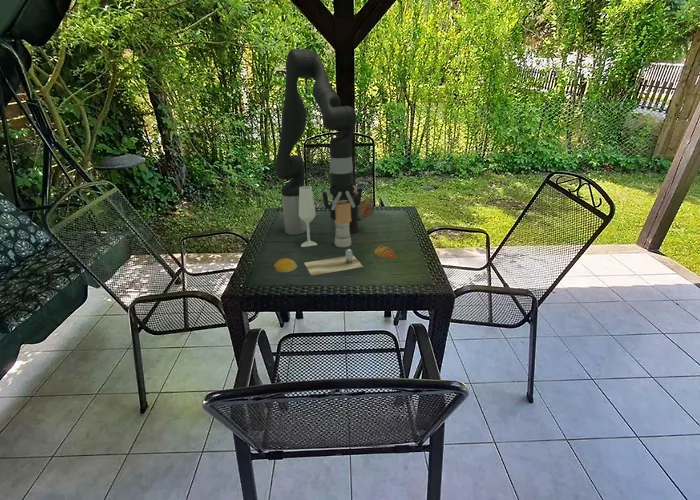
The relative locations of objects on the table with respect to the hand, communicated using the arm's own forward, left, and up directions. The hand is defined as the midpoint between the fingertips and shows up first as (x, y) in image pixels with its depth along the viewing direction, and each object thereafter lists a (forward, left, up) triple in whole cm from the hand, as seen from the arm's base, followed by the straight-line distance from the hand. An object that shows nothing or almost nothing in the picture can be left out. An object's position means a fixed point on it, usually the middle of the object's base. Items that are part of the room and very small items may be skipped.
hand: (342, 218), depth 147 cm
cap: (0, 0, -1) cm, 1 cm away
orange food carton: (-50, +26, -19) cm, 59 cm away
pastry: (-3, +17, -19) cm, 26 cm away
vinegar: (-34, +14, -19) cm, 41 cm away
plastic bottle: (-17, +5, -19) cm, 26 cm away
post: (0, +2, -17) cm, 17 cm away
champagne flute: (-25, -7, -19) cm, 32 cm away
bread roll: (-5, -20, -19) cm, 28 cm away
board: (0, -4, -19) cm, 19 cm away
